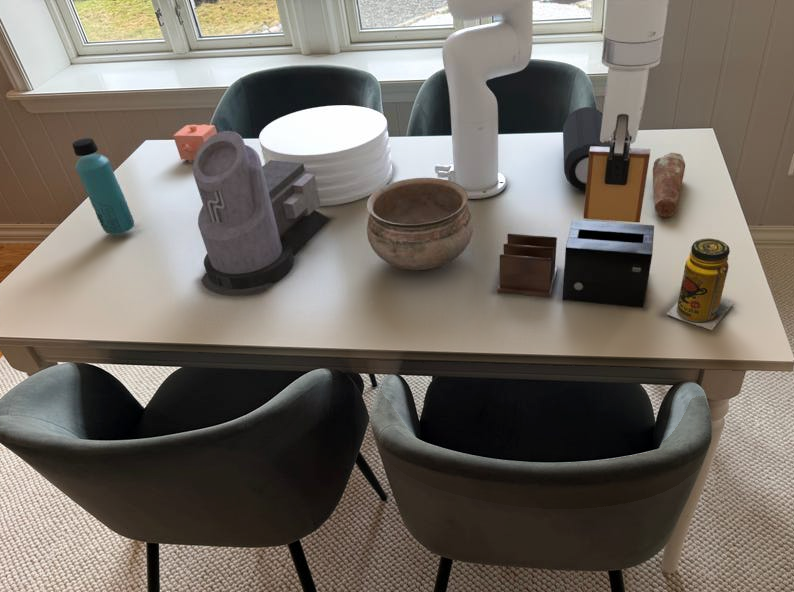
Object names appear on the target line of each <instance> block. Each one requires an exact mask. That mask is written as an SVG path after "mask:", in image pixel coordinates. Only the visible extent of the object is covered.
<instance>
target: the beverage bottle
mask: <svg viewBox="0 0 794 592" xmlns="http://www.w3.org/2000/svg"><path fill="white" fill-rule="evenodd" d="M71 145H72V148H73V152H74V155H76V156H77V157H80V158H79V159H78V160H77V162H76V164H75V171H76V172H77V173H78V176H79V179H80V181H81V182H82V185H83V188H84V191H85V192H86V194H87V197H88V199H89V202H90V204H91V206H92V209H93V210H94V213H95V216H96V218H97V220H98V222H99V224H100V226H101V228H102V231H104V232H105V233H106V234H108V235H118V234H122V233H126V232H127V231H130V230H131V229H133V227H134V226H135V219H134V216H133V214H132V211H131V209H130V207H129V204H128V202H127V201H126V197H125V195H124V192H123V190H122V188H121V185H120V184H119V182H118V179H117V177H116V174H115V172H114V170H113V168H112V165H111V163H110V160H109V158H108V157H107V156H105V155H103V154H101V153H100V154H99V153H96V152H97V151H98V150H99V148H98V146H97V144H96V142H95V140H94V139H93V138H92V137H91V138H90V137H84V138H80V139H77V140H75V141H74V142H72V144H71Z"/></svg>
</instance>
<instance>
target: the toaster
mask: <svg viewBox="0 0 794 592" xmlns="http://www.w3.org/2000/svg"><path fill="white" fill-rule="evenodd" d="M654 237H655V225H653V224H640V223H628V222H625V223H624V222H612V221H611V222H609V221H599V220H597V221H596V220H585V219H584V220H582V219H572V220H571V224H570V228H569V232H568V237H567V240H566V244H565V250H564V251H565V253H564V265H563V266H564V268H563V279H562V281H563V282H562V296H561V299H562V301H569V302H571V301H572V302H579V303H580V302H581V303H591V304H599V305H609V306H610V305H611V306H619V307H631V308H638V309H639V308H641V309H644V307H645V302H646V297H647V296H646V295H647V291H648V285H649V284H648V283H649V277H650V271H651V264H652V261H653V251H654Z"/></svg>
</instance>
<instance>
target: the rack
mask: <svg viewBox="0 0 794 592" xmlns="http://www.w3.org/2000/svg"><path fill="white" fill-rule="evenodd" d="M506 236H507V237H506V240H507V243H503V254H502V253H501V254H500V253H499V255H498V256H499V259H498V260H499V283H498V285H497V289H496V292H497V293H501V294H512V295H520V296H521V295H522V296H531V297H539V298H540V297H541V298H551V296H552V292H553V289H554V284H555V280H556V277H557V273H558V266H556V260H557V244H558V243H557V241H558V237H556V236H548V235H547V236H545V235H535V234H531V235H530V234H519V233H507V234H506Z"/></svg>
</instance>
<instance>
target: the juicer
mask: <svg viewBox="0 0 794 592" xmlns="http://www.w3.org/2000/svg"><path fill="white" fill-rule="evenodd" d="M192 175H193V178H194V181H195V185H196V187H197V190H198V194H199V196H200V200H201V203H202V206H201V209H200V210H199V213H198V218H197V226H198V229H199V232H200V236H201V238H202V241H203V244H204V247H205V250H206V255H205V257H204V258H203V267H204V269H205V273H204V274H203V276H202V278H201V279H200V281H201V284H202V286H204V288H205V289H206V290H208V291H209V292H211V293H213V294H217V295H221V296H227V297H244V296H245V297H246V296H251V295H252V296H253V295H257V294H261V293H265V292H266V291H267V290H268V289H269V288H270V286H271V285H274V284H275V283H277V282H279V281H280V280H282V279H284V277H287V275H288V274H289V273H290V272H291V270H292V269H293V267H294V264H295V258H294V257H295V256H296V255H297V254H298V253H299V252H300V251H301V250H302V248H304V247H305V246H306V244H308V242H310V240H312V239H313V237H315V235H317V234H318V232H319V231H320V230H322V229H323V228H324V226H326V224H328V222H329V221H330V220H331V218H329V217H328V216H326V215H325V214H323V213H321V212H319V211H317V210H316V209H317V208H318V207H320V206H319V205H320V200H319V195H318V190H317V185H316V180H315V175H311V174H308V172H307V170H306V169H305V168H304V164H303V163H294V162H284V161H275V160H270V161H269V162H267V163H266V164H265V163H264V164H263V165H262V161H261V157H260V155H259V153H258V151H257V150H255V148H253V147H251V146H250V145H247V144H245V141H244V138H243V137H242V136H241V135H240V134H239V133H237V132H236V131H232V130H223V131H219V132H217V134H215V135H213V136H212V137H210V138H209V139H208V140H206V142H205V143H204V144H203V145H202V146H201V147H200V149H199V150H198V152H197V154H196V157H195V159H194V162H192Z"/></svg>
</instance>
